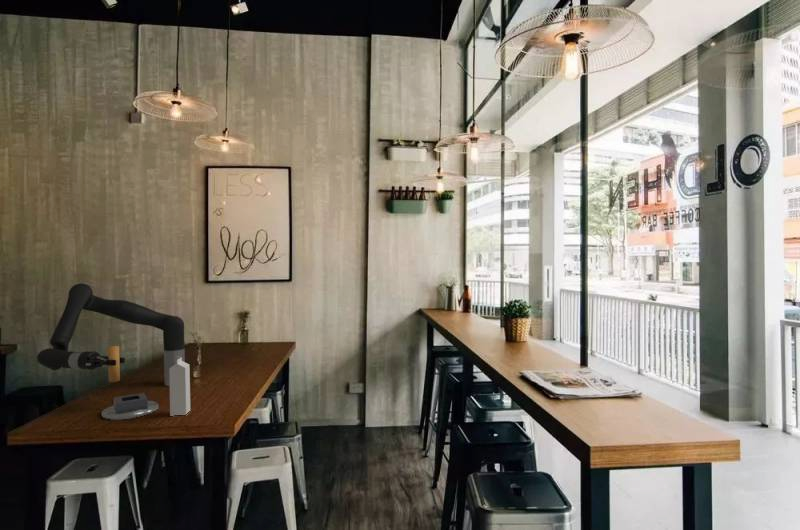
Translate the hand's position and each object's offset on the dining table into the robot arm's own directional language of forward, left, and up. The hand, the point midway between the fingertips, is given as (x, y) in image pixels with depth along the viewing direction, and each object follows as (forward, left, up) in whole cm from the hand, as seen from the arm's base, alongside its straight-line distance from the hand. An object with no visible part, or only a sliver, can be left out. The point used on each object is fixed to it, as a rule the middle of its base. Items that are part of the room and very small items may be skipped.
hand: (119, 361), depth 194 cm
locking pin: (+2, -2, -8) cm, 8 cm away
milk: (-19, +20, -20) cm, 34 cm away
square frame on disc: (-3, +5, -20) cm, 21 cm away
